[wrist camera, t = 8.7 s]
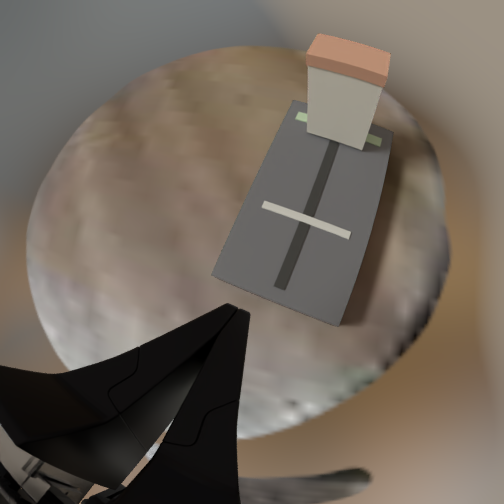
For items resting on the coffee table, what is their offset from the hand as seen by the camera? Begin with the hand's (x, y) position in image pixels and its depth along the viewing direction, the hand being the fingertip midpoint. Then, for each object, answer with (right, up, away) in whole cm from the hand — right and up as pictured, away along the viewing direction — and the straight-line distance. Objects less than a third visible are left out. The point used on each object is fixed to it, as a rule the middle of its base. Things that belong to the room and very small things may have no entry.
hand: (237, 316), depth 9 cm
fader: (+8, +13, +13) cm, 20 cm away
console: (+6, +6, +14) cm, 16 cm away
